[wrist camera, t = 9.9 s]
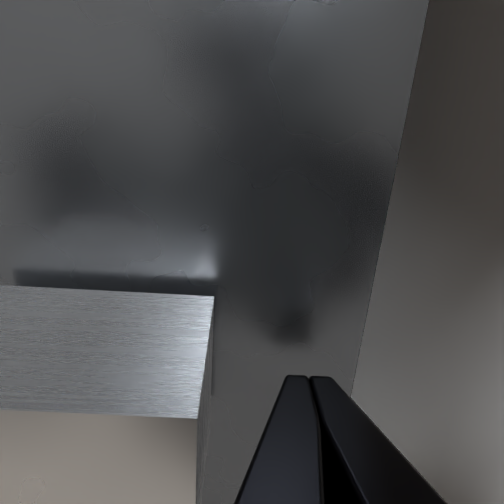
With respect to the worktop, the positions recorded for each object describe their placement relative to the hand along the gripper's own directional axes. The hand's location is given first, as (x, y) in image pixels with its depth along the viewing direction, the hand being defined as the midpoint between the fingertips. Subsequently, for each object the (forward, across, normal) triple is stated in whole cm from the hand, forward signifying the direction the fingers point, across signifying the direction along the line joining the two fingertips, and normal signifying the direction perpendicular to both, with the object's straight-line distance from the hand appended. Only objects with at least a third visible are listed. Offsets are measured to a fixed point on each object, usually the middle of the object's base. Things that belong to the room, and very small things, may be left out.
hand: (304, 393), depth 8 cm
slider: (+1, +4, 0) cm, 4 cm away
